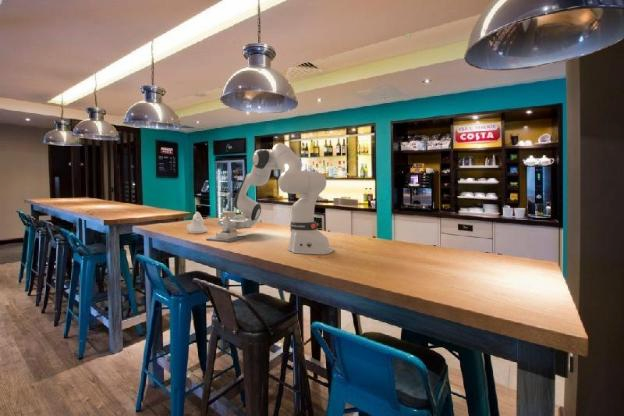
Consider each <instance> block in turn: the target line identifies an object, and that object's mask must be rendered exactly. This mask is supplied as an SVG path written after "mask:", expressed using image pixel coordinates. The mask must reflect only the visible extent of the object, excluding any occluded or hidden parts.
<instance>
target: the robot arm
mask: <svg viewBox="0 0 624 416" xmlns="http://www.w3.org/2000/svg"><path fill="white" fill-rule="evenodd" d="M275 170H280V172H281V174H280V175H279V177H278V182H277V183H278V187H279V189H280V191H281V192H282V193H287V194H291V195H293V194H294V195H295V194H297V195H298V194H299V195H300V196H299V198H298V199H297V201H295V202H294V203H293V204H292V205H291V221H290V239H289V245H288V248H287V250H288V251H290V252H292V254H303V255H305V254H307V255H328V254H331V253H332V252H334V248H333V247H331V246H330V242H329V239H328V237H327V236H326V235H324V234H323V233H322V232H321V231H320V230H319V229H318V226H319V223H318V222H316V221H314V219H315V207H316V202H317V200H318V197H319V196H320V194H321V193H323V191H324V190H326V189H325V188H326V187H327V178H326V176H325V174H324V173H321V172H319V171H313V170H312V171H311V170H302V161H301V160H300V158H299V157H298V156H297V155H296V154H295V152H294V151H293V150H292V149H291V147H289V146H287V145H286V144H284V143H277V144H275V145H274V146H273V147H272V149H271V148H270V149H268V148H267V149H263V148H262V149H257V150H255V151H254V152H253V154H252V167H251V171H250V173H247V174H246V175H245V176H244V178H243V180H242V182H241V184H240V187H239V189H238V191H237V194H236V195H235V197H234V198H233V200H232V201H233V207H234V208H235V209H236V210H239V211H241V212H243V213H242V214H240V213H239V214H236V215H235V216H234V217H233V218H232V219H230V223H229V226H230V227H234V228H235V229H236V230H244V229H252V227H253V226H254V225H256V224H257V223H258V220H259V217H260V216H261V214H262V205H261V203H259V202H258V201H255V200H253V199H252V198H251V197H249V196H248V195H247V193H248V192H249V191H248V190H249V188H250V186H254V187H261V186H265V184H267V183H268V181H269V180H270V176H271V173H272V171H275ZM216 224H217V226H218V227H222V226H223V223H222V218H220V219H217V220H216Z"/></svg>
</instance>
